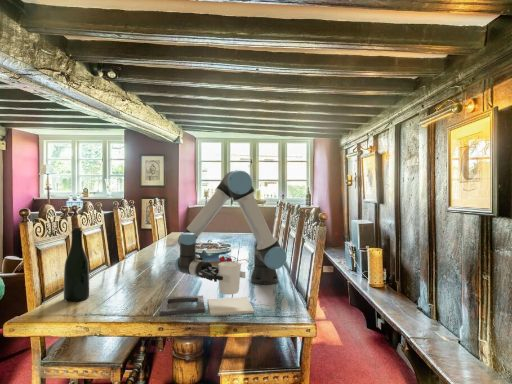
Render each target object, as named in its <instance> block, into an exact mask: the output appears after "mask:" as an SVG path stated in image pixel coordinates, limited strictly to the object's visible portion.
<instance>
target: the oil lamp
mask: <svg viewBox="0 0 512 384" xmlns="http://www.w3.org/2000/svg"><path fill="white" fill-rule="evenodd" d="M195 259H197V260H202V261H203V257H201V256H200V257H199V256H198V255H197V254H196V256H195ZM208 262H210V263H211V265H212V266H216V267H218V264H219V263H221V262H227V261H225V260H224V261H220V260H219V261H218V260H217V261H216V260H213V261H208ZM218 272H219V270H218Z"/></svg>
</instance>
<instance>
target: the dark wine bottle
mask: <svg viewBox="0 0 512 384" xmlns="http://www.w3.org/2000/svg"><path fill="white" fill-rule="evenodd" d="M70 232H71V241H70V242H71V243H70V247H69V252H68V255H67V257H66V258H65V259H66V260H65V262H64V270H63V300H64V301H66V302H71V303H73V302H80V301H84V300H87V299H88V298H89V297H90V267H89V266H90V264H89V259H88V257H87V254H86V252H85V250H84V246H83V229H82V227H81V226H73V227H72V230H71V231H70Z"/></svg>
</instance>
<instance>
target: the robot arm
mask: <svg viewBox="0 0 512 384" xmlns="http://www.w3.org/2000/svg"><path fill="white" fill-rule="evenodd" d="M255 192H256V191H255V188H254V186H253V180H252V177H251V175H250V174H249V173H248V172H246V171H245V170H242V169H236V170H232V171H229V172H227V173H226V174H225V175H224V176H223V178H222V180H220V182H219V184H218V186H217V187H216V188H215V192H214V193H213V195H212V196H210V198H209V200H208V201H207V202H206V203H205V205H204V206H203V207H202V208H201V209H200V211H199V212H198V214H197V215H196V216H195V217H194V218H193V220H192V221H191V222H190V223H189V225H188V226H186V229H185V230H184V231H183V232H181V234H180V235H179V236H178V238H177V244H178V246H179V256H178V257H177V258H176V260H175V263H174V268H175V270H176V271H177V272H179V273H182V274H186V275H191V276H194V277H196V278H198V277H199V278H202V279H206V280H209V281H211V282H212V281H213V282H214V283H216V282H219V281H223V282H227V283H230V276H228V275H223V274H219V271H218V270H219V268H218V267H216V266H212V265H211V263H210V262H209V261H207V260H203V259H202V260H197V259H195V256H196V255H197V254H196V248H197V245H196V244H197V239H198V237H200V235H201V234H202V233H203V231H204V230H205V229H206V228H207V227H208V225H209V224H210V222H211V221H212V220H213V219H214V218H215V216H216V215H217V214H218V213H219V211H220V210H221V209H222V207H223V206H224V205H225V204H226V202H227V201H229V200H231V199H232V200H233V201H234V202H236V203H238V205H239V208H240V210H241V212H242V214H243V216H244V218H245V220H246V222H247V225H248V226H249V229H250V230H251V233H252V234H253V237H254V239H255V241H254V245H253V258H254V259H253V260H254V261H253V265H254V266H253V270H252V272H251V276H250V282H252V283H253V284H256V285H273V284H276V283H278V282H279V276H278V272H277V270H278V269H280V268H282V267H284V265H285V263H286V261H287V259H288V258H287V257H288V256H287V255H288V254H287V252H286V250H285V249H284V248H283V247H282V246H281V244H280V242H279V240H278V238H277V237H274V236H273V234H272V232H271V230H270V227H269V226H268V224H267V221H266V220H265V217H264V215H263V212H262V211H261V209H260V207H259V204H258V202H257V200H256V198H255V196H254V194H255ZM241 278H242V279H245V278H246V271H244V270H240V279H241Z"/></svg>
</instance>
